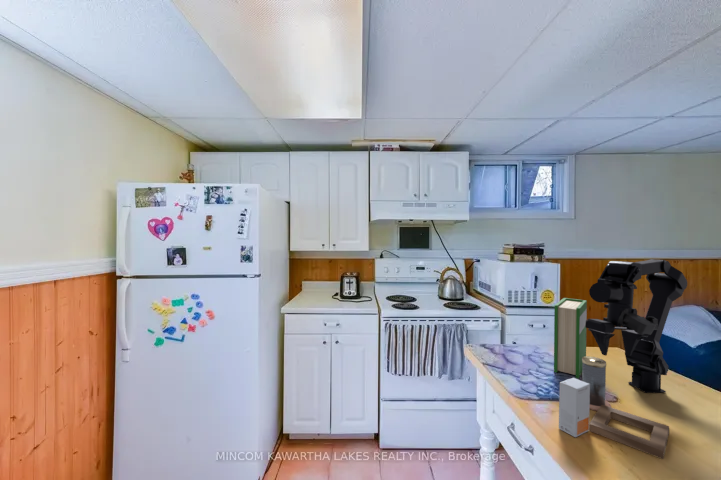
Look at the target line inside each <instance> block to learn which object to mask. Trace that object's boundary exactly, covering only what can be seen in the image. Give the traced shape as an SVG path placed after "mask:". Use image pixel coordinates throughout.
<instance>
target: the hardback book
mask: <svg viewBox="0 0 721 480" xmlns="http://www.w3.org/2000/svg"><path fill="white" fill-rule="evenodd" d="M587 305H588V302H587V300H584V299H577V298H568V297H563V298H562V299H561V300H558V302H557V303H555V304H554V310H553V311H554V312H553V313H554V314H553V315H554V316H553V317H554V319H553V320H554V323H553V325H554V326H553V330H554V331H553V333H554V334H553V373H555V372H556V374H557V373H558V372H562V373H566V374H571V375H574V376H575V378H576V379H580V377H581V375H582V357H584V356H587V328H586V327H585V323H586V320H588V318H587V314H588V313H587V311H588V310H587V309H588V306H587Z"/></svg>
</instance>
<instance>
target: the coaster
mask: <svg viewBox="0 0 721 480" xmlns="http://www.w3.org/2000/svg"><path fill="white" fill-rule="evenodd" d="M605 406H608V407H611V408H612V404H611V403H610V402H609V401H607V400H606V399H605ZM599 408H600V406H594V405H591V404H590V408H589V410H591V411H596V412H597V411H598V409H599Z"/></svg>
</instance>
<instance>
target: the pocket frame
mask: <svg viewBox="0 0 721 480" xmlns="http://www.w3.org/2000/svg"><path fill="white" fill-rule="evenodd" d="M611 419H613V420H615V421H618V422H621V423H622V424H627V425H630V426H632V427H635V428H638V429H641V430H644V431H646V432H651V435H650V437H649V439H646V438H644V437H641V436H638V435H635V434H633V433H630V432H628V431H625V430H622V429H618V428H616V427H613V426H610V425H609V423H610V421H611ZM588 432H591V433H594V434H596V435H599V436H602V437H604V438H607V439H610V440H612V441H614V442H618V443H620V444H622V445H626V446H627V447H628V446H629V447H631V448H633V449H635V450H638V451H640V452H643V453H647V454H649V455H651V456H654V457H656V458H658V459H661V460H664V457H665V453H666V449H667V445H668V444H667V443H668V439H669V435H670V426H669V425H666V424H663V423H661V422H658V421H655V420H651V419H648V418H645V417H642V416H638V415H636V414H633V413H629V412H626V411H623V410H621V409H617V408H615V407H612V406H611V407H608V406H605V405H601V406H600V408H599V409H598V411H596V412H595V414H594V415H593V418H592V419H591V420H590V421H589V431H588Z"/></svg>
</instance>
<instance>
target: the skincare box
mask: <svg viewBox="0 0 721 480" xmlns="http://www.w3.org/2000/svg"><path fill="white" fill-rule="evenodd" d="M558 399H559V401H558V402H559V403H558V429H559V430H561V431H562V432H565V433H567V435H568V434H569V435H570V436H572V437H574V438H578V437H579V436H582V435H584V434H586V433H588V432H590V431H589V423H590V409H589V408H590V384H589V383H586V382H583V381H582V380H580V379H579V378H576V377H572V378H568V379H565V380H563V381H560V382H559V397H558Z"/></svg>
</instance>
